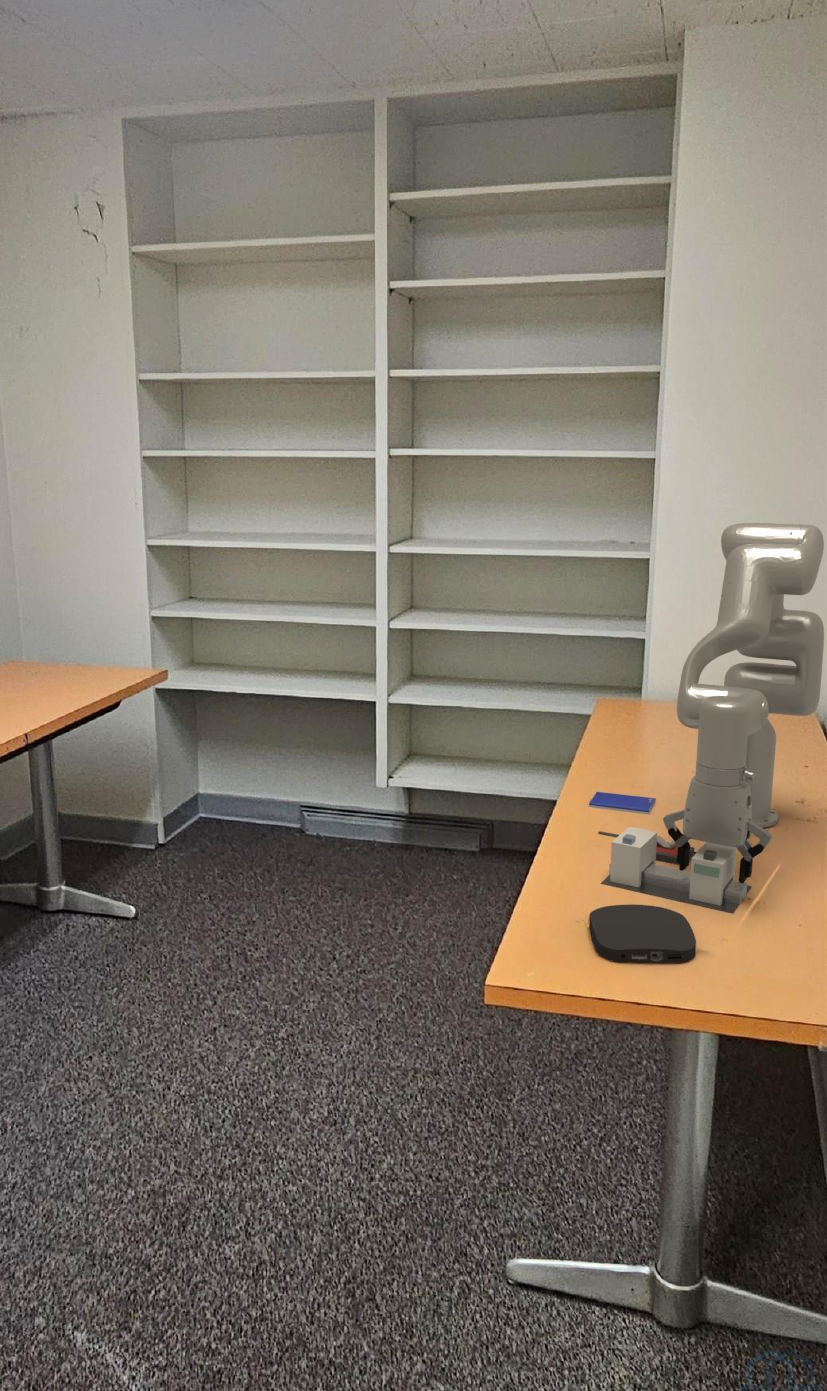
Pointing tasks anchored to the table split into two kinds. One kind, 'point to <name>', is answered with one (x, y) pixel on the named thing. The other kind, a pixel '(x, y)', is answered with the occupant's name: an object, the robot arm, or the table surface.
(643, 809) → the hard drive
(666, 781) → the table surface
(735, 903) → the rail plate
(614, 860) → the mounted module
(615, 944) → the media streaming box
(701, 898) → the block
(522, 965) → the table surface
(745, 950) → the table surface
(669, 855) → the walkie-talkie
